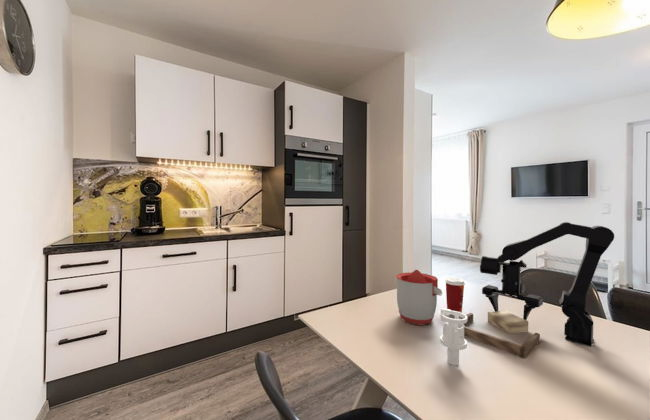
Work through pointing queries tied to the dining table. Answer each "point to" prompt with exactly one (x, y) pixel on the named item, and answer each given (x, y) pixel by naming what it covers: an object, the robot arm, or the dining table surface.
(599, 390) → the dining table surface
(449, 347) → the white flanged plastic holder
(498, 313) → the cream rectangular block
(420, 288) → the citrus juicer
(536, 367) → the dining table surface
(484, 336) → the brown angled piece
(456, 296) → the paper cup
